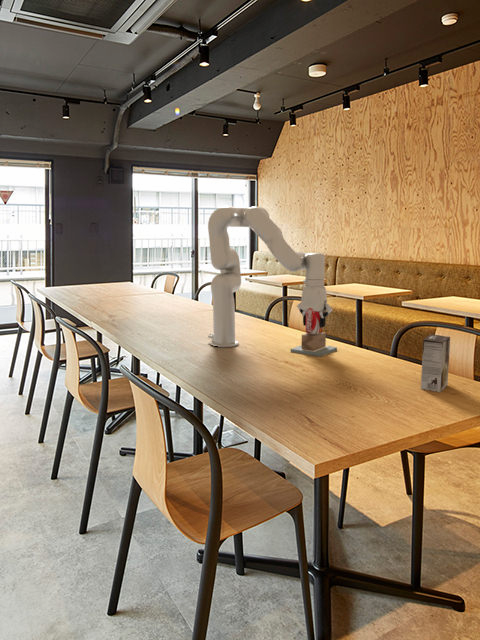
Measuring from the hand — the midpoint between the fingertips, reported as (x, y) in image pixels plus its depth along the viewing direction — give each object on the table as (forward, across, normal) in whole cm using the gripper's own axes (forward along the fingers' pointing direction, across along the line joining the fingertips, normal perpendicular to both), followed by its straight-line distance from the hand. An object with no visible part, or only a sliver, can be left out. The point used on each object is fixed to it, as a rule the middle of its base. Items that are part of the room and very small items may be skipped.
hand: (314, 325), depth 210 cm
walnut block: (+9, 0, 0) cm, 9 cm away
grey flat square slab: (+11, 0, 0) cm, 11 cm away
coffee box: (+11, +56, -20) cm, 61 cm away
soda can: (+4, 0, 0) cm, 4 cm away
